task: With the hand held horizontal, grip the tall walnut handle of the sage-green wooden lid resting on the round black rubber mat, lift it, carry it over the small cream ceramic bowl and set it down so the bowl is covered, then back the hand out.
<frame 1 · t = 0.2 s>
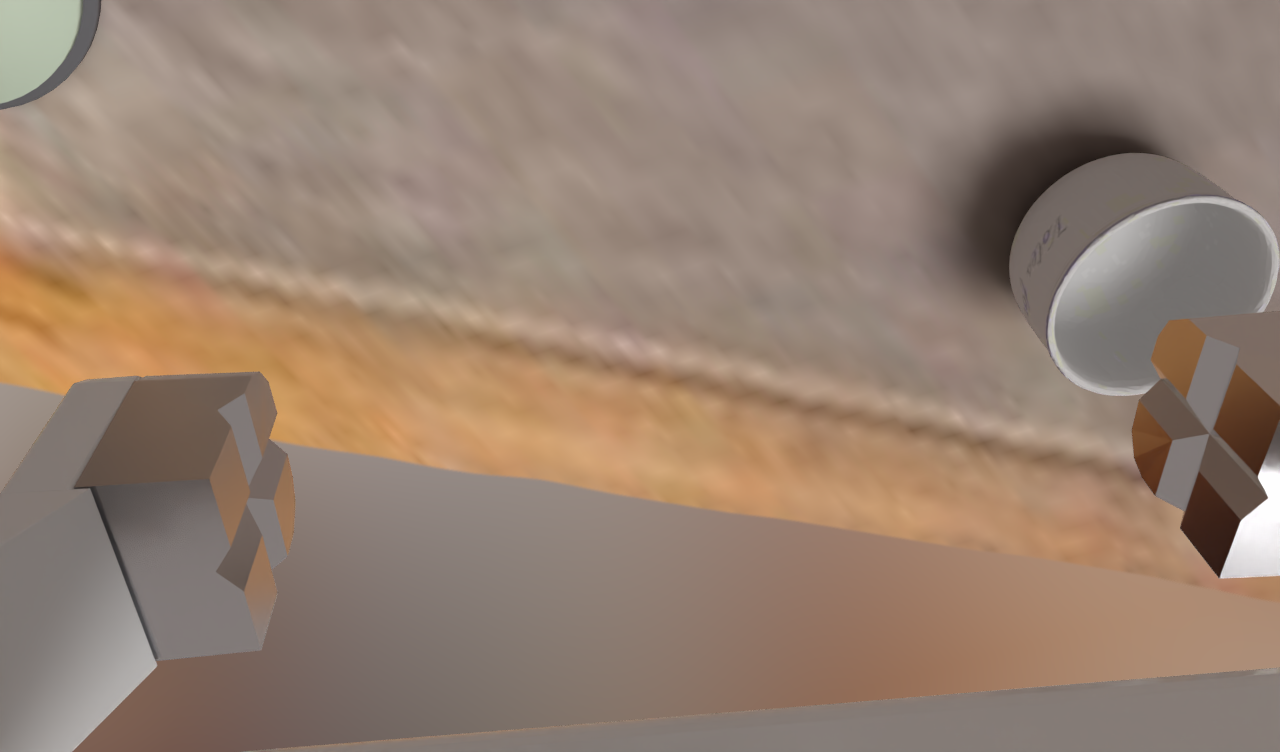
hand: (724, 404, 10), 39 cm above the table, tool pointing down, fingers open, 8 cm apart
teacup: (1094, 243, 56), on the table
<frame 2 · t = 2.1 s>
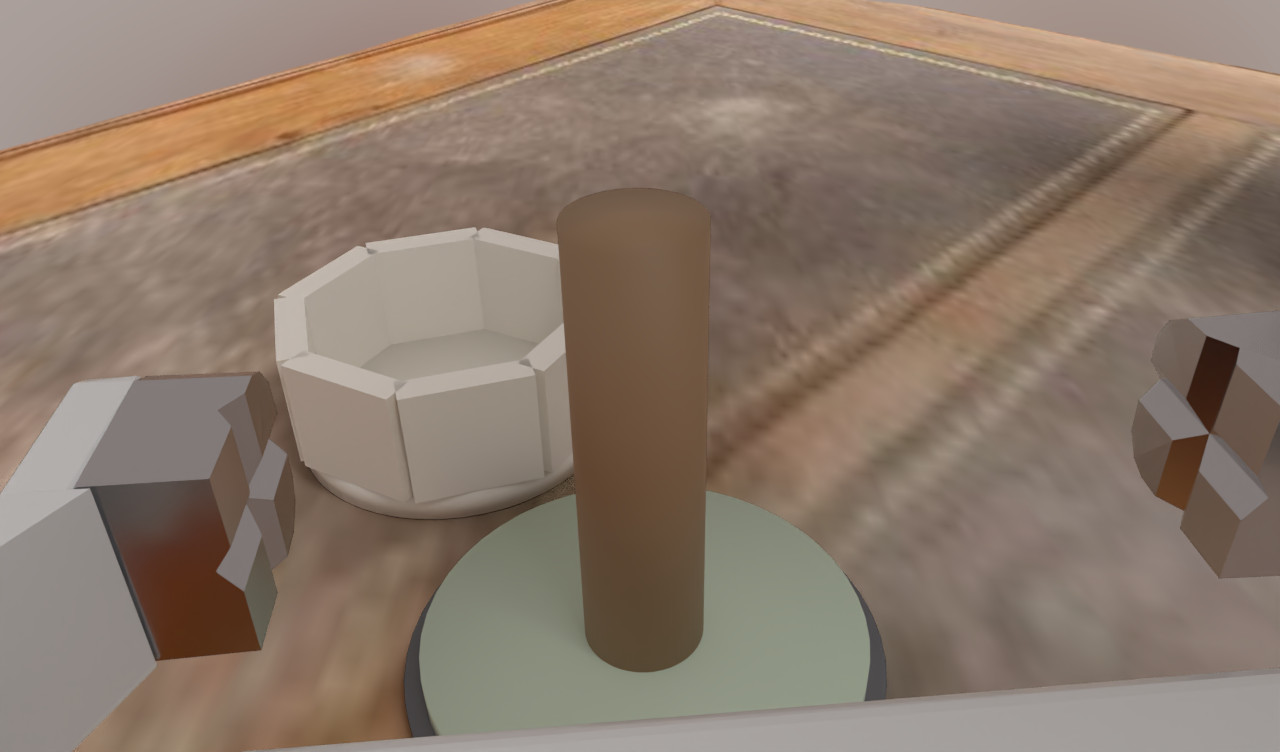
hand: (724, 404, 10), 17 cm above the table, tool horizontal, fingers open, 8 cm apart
mat: (644, 661, 29), on the table
lid: (644, 646, 29), point 1 cm above the table, touching mat
bowl: (458, 420, 39), on the table
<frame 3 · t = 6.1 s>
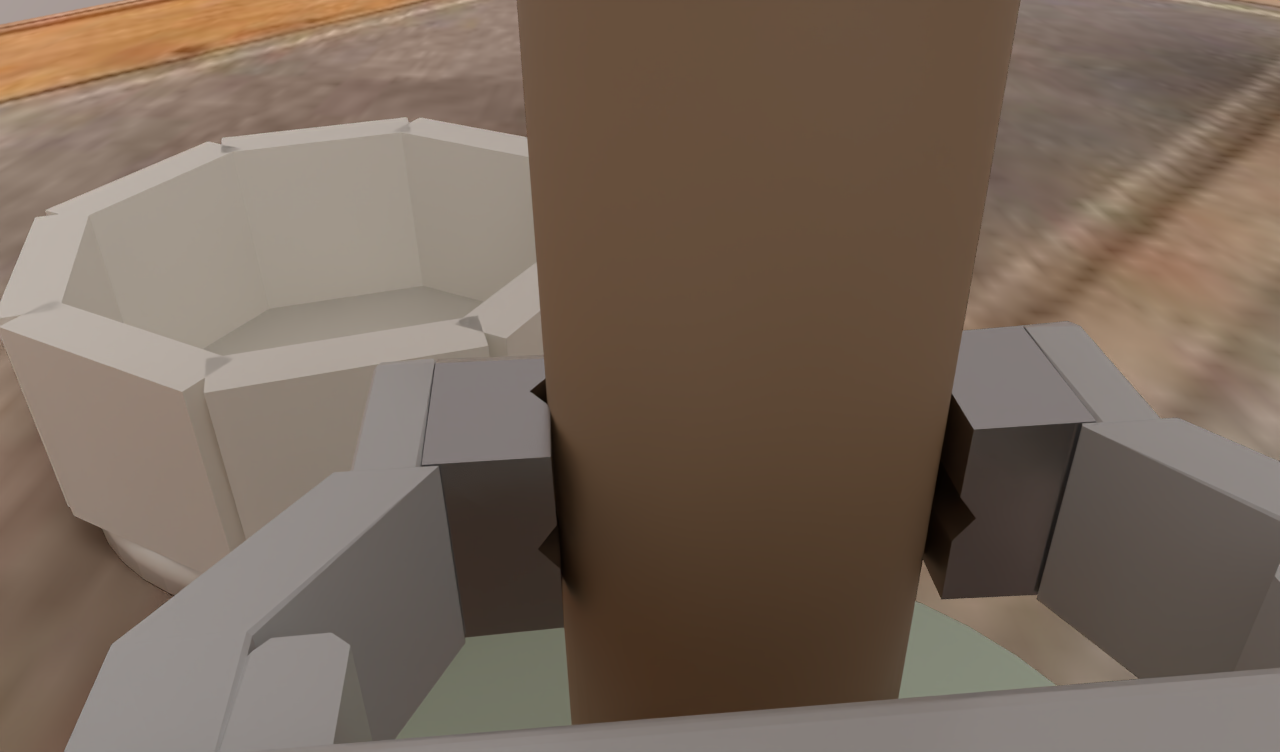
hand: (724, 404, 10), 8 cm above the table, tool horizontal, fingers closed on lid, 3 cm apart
bowl: (369, 432, 23), on the table
when the fingers open (13 cm above the table, at t = 9.7 s): lid stays where it is, resting on bowl.
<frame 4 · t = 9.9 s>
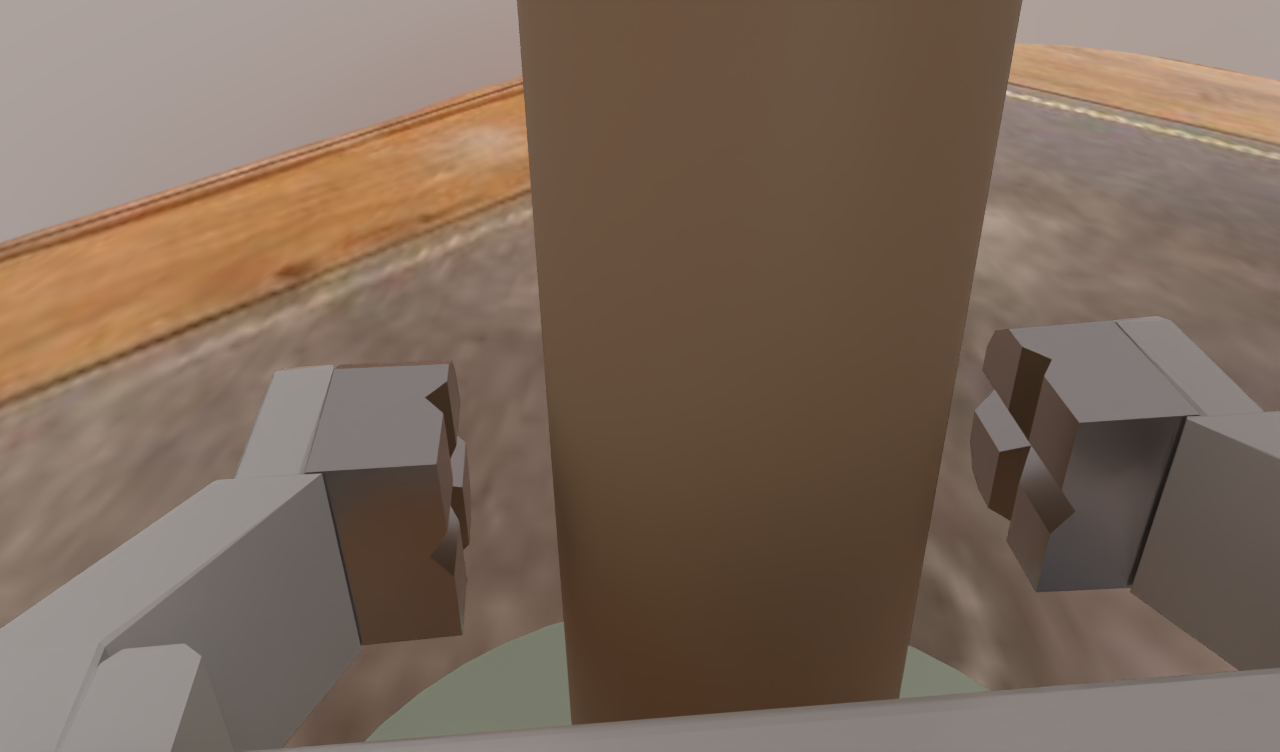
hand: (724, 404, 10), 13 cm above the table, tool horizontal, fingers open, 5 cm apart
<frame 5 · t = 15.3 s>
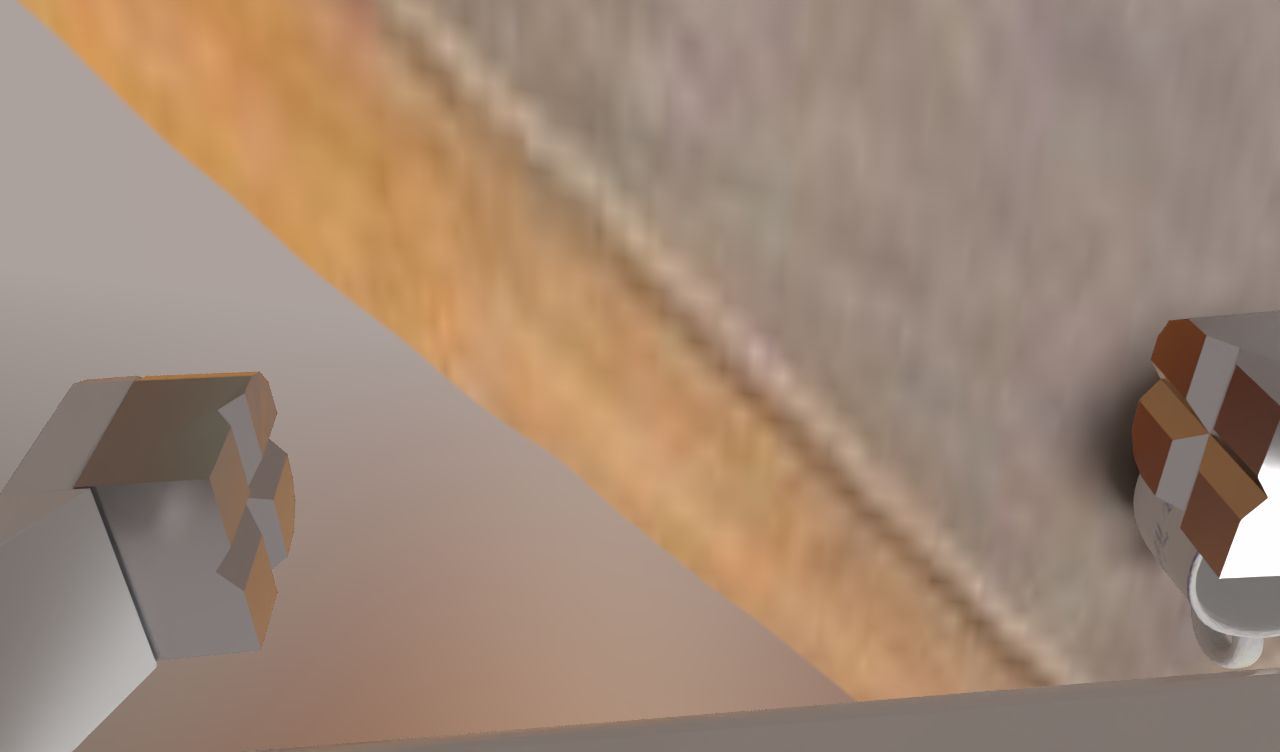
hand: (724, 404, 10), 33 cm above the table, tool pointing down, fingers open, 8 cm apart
teacup: (1196, 474, 56), on the table
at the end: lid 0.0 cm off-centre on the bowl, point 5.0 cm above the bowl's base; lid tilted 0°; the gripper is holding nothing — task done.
